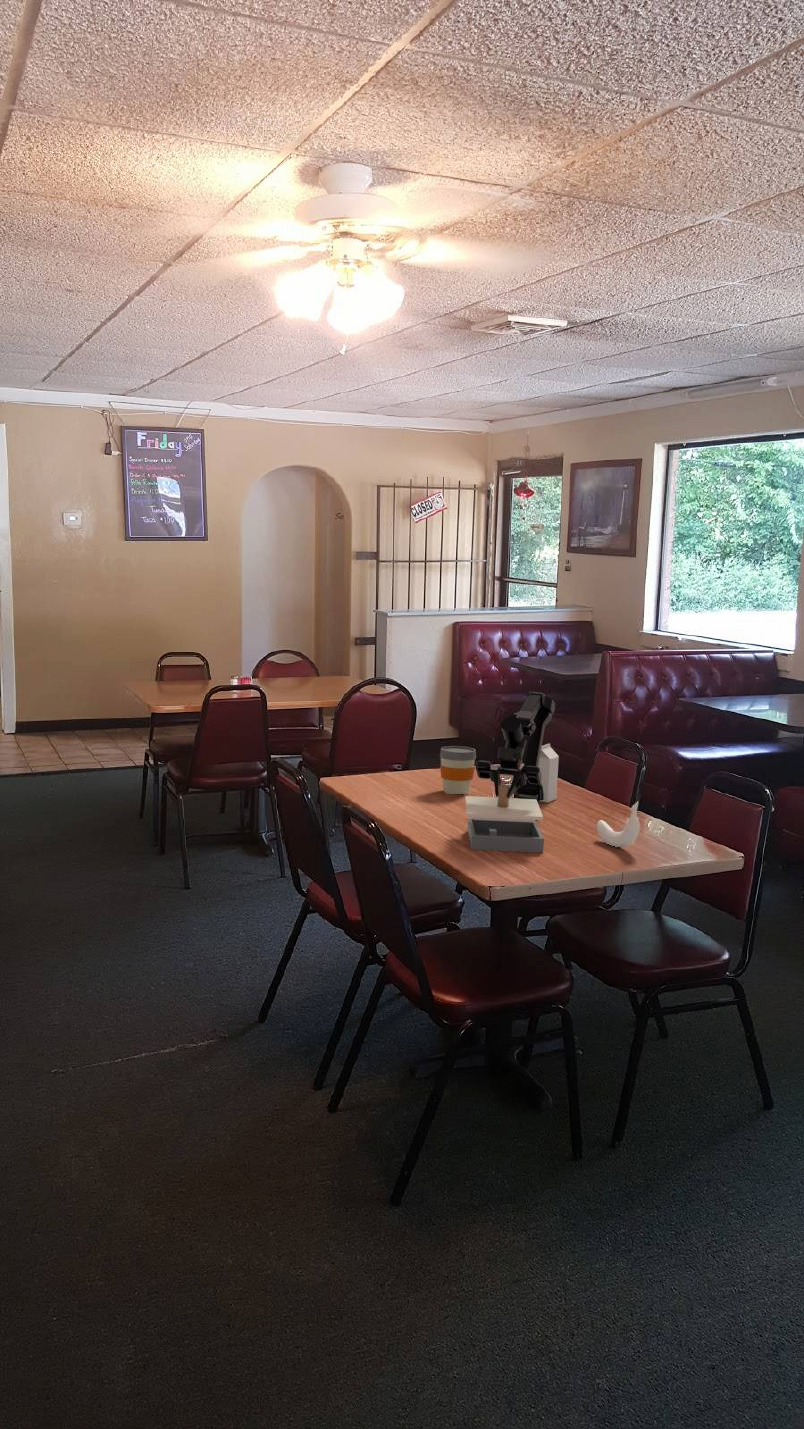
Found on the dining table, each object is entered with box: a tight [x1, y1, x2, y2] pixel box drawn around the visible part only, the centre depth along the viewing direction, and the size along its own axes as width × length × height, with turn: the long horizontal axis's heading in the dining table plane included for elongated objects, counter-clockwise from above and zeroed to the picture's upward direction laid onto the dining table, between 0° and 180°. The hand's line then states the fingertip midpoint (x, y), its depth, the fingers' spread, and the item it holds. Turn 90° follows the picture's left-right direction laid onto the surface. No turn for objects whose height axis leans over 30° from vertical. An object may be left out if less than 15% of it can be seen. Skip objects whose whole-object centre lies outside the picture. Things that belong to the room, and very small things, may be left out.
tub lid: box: [464, 784, 544, 823], centre depth 307 cm, size 21×21×8 cm
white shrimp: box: [596, 801, 641, 849], centre depth 307 cm, size 5×19×15 cm, turn 28°
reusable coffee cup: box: [439, 745, 477, 795], centre depth 369 cm, size 13×13×15 cm
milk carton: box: [537, 743, 560, 804], centre depth 362 cm, size 7×7×19 cm
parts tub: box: [467, 817, 545, 853], centre depth 308 cm, size 20×20×4 cm
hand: (502, 796), depth 305 cm, fingers closed on tub lid, 3 cm apart
